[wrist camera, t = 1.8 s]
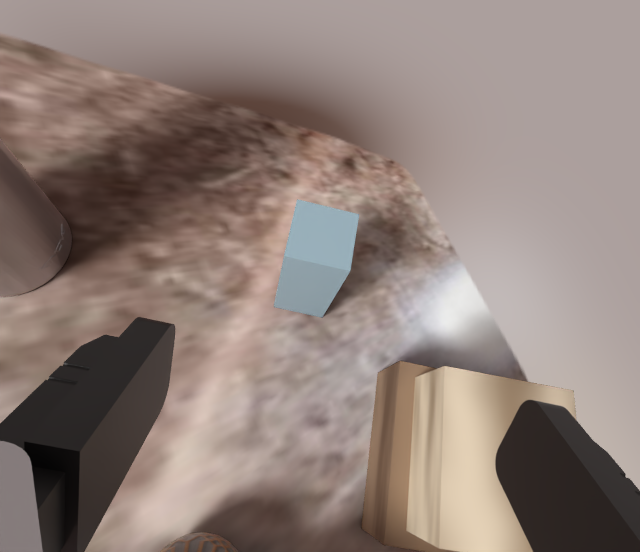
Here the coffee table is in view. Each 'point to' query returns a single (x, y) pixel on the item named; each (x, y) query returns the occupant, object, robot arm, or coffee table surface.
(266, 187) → the coffee table surface
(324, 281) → the block
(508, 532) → the tower top
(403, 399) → the tower base
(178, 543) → the vase
